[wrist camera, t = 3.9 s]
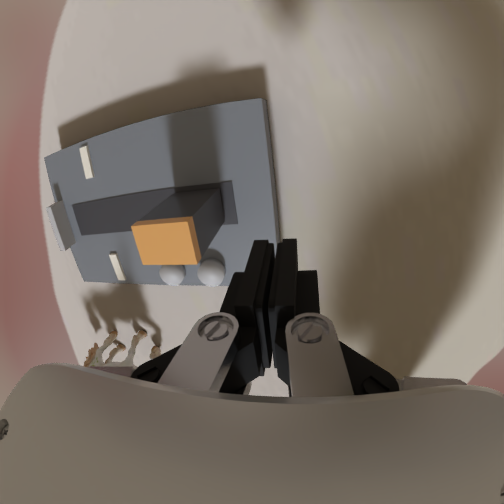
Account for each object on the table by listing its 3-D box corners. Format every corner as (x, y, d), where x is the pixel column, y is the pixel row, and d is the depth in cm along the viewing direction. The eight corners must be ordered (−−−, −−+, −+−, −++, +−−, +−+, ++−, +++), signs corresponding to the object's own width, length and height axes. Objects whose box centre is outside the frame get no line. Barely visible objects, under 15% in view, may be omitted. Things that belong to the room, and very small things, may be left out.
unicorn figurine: (196, 336, 35) (161, 421, 23) (125, 364, 43) (93, 421, 31) (159, 298, 33) (106, 381, 21) (96, 337, 40) (57, 393, 29)
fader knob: (219, 188, 21) (187, 221, 15) (224, 221, 22) (197, 264, 16) (173, 193, 22) (130, 226, 16) (180, 224, 23) (142, 265, 17)
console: (266, 100, 20) (257, 96, 16) (282, 268, 27) (278, 299, 23) (61, 151, 25) (31, 162, 20) (96, 268, 32) (75, 290, 28)
